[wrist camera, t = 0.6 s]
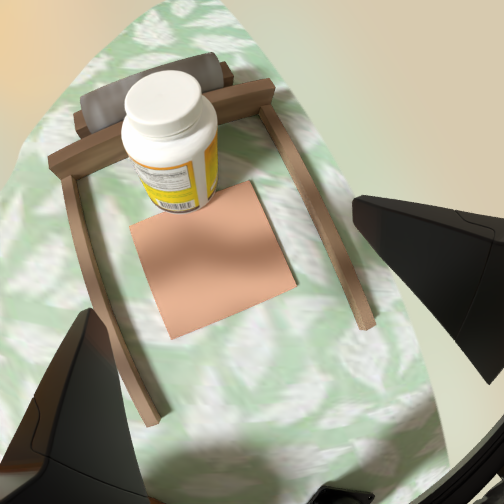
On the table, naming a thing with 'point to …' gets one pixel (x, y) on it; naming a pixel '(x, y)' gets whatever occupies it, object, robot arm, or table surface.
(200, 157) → the supplement bottle
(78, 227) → the frame
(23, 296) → the table surface
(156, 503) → the food container
